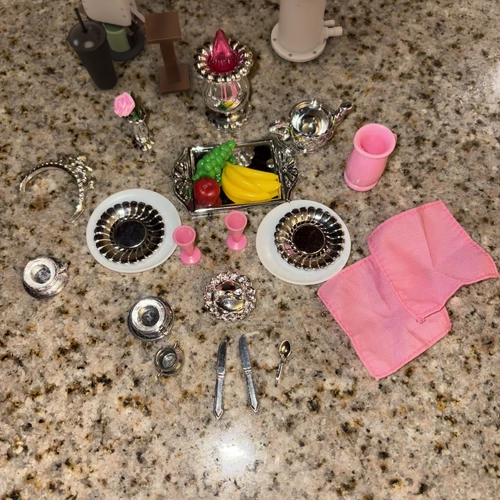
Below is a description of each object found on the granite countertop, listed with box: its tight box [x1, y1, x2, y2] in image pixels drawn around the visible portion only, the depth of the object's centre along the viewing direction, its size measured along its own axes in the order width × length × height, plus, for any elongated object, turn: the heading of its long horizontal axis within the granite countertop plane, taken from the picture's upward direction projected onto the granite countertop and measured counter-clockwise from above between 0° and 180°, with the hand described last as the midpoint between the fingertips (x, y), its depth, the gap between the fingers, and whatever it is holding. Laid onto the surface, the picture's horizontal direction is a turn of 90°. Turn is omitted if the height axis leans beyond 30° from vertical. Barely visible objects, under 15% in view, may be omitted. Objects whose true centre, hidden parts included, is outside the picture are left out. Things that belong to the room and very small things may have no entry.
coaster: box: [108, 29, 145, 62], centre depth 112 cm, size 10×10×1 cm
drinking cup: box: [67, 7, 118, 91], centre depth 99 cm, size 8×8×20 cm
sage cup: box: [102, 22, 131, 52], centre depth 109 cm, size 6×6×6 cm
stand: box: [143, 10, 192, 95], centre depth 101 cm, size 6×6×16 cm
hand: (120, 40), depth 111 cm, fingers closed on sage cup, 5 cm apart
